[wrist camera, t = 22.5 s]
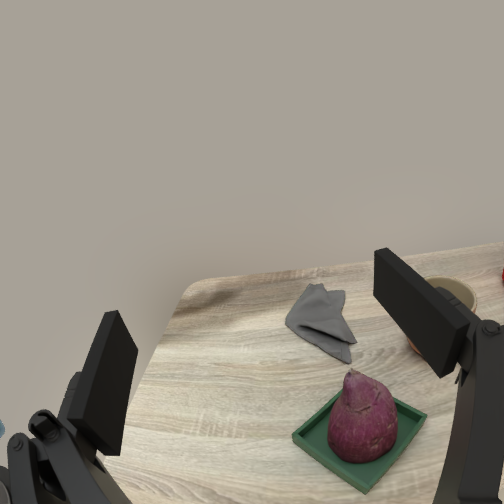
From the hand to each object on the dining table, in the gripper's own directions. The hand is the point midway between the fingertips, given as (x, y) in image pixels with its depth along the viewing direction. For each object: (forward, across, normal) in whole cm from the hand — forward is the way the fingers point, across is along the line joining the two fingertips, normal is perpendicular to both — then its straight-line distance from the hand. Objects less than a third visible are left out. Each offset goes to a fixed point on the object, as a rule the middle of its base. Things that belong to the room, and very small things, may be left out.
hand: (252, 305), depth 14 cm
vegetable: (+6, +11, -32) cm, 34 cm away
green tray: (+6, +11, -32) cm, 34 cm away
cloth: (+34, +13, -32) cm, 49 cm away
